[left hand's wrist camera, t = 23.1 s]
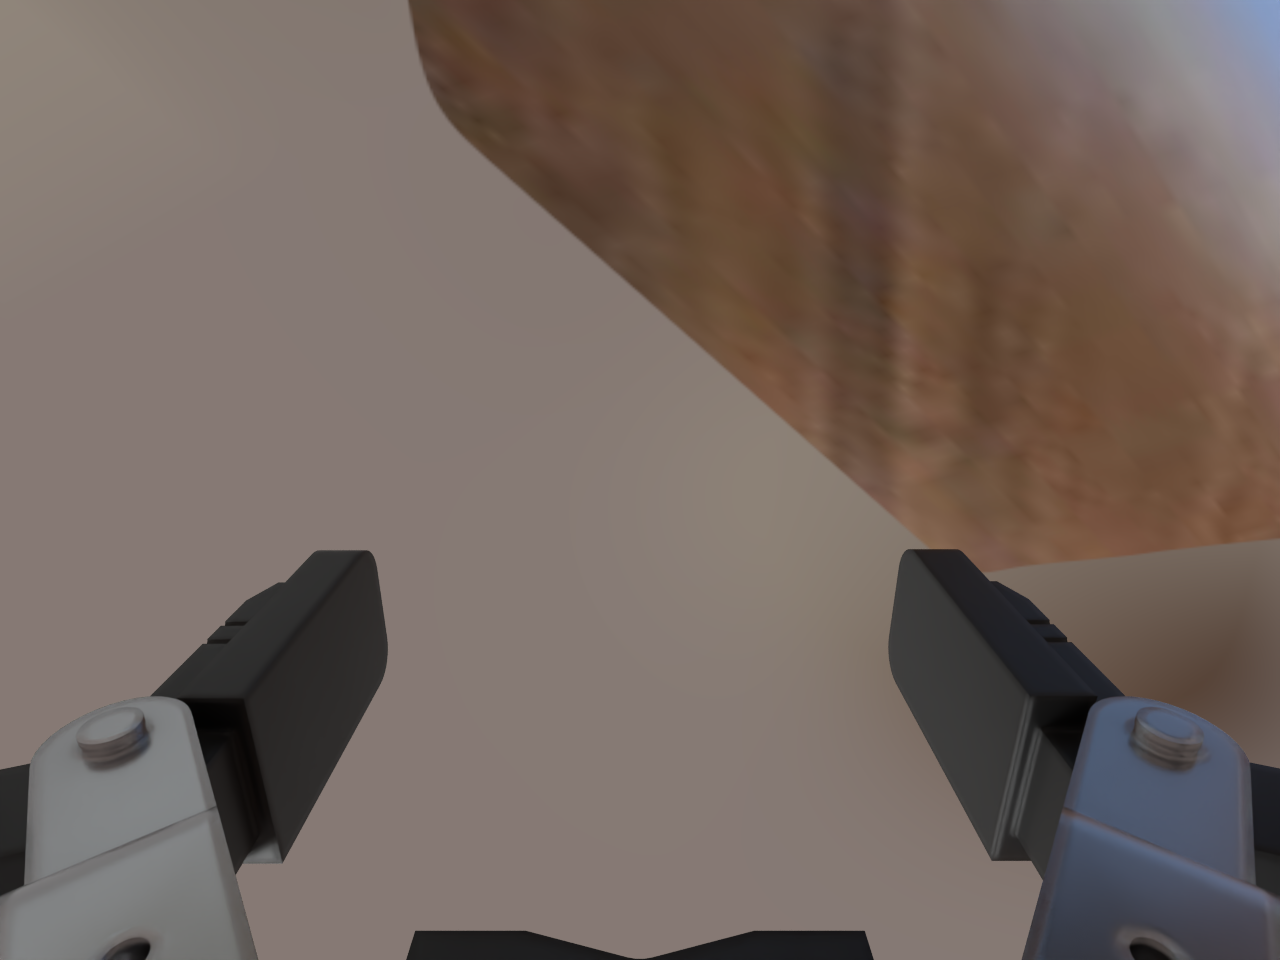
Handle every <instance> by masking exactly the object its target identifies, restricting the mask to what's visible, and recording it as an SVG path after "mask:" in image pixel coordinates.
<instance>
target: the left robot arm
mask: <svg viewBox="0 0 1280 960" xmlns="http://www.w3.org/2000/svg"><path fill="white" fill-rule="evenodd" d="M888 648H889V661H890V667H891V671H892V675H893V678H894V680H895V682H896V684H897V686H898V688H899V690H900V692H901V693H902V695H903V697H904V699H905V701H906V703H907V704H908V706H909V708H910V710H911V712H912V714H913V716H914V717H915V719H916V721H917V723H918V725H919V727H920V729H921V730H922V732H923V734H924V736H925V738H926V740H927V741H928V743H929V745H930V747H931V749H932V751H933V753H934V754H935V756H936V758H937V760H938V762H939V764H940V766H941V767H942V769H943V771H944V773H945V775H946V777H947V779H948V780H949V782H950V784H951V786H952V788H953V790H954V791H955V793H956V795H957V797H958V799H959V801H960V803H961V804H962V806H963V808H964V810H965V812H966V814H967V816H968V817H969V819H970V821H971V823H972V825H973V827H974V829H975V830H976V832H977V834H978V836H979V838H980V840H981V841H982V843H983V845H984V847H985V849H986V851H987V853H988V854H989V856H990V858H991V860H992V861H1032V863H1033V864H1034V866H1035V868H1036V869H1037V871H1038V873H1039V874H1040V876H1041V878H1042V879H1043V883H1042V887H1041V890H1040V894H1039V898H1038V901H1037V905H1036V909H1035V912H1034V916H1033V920H1032V924H1031V928H1030V931H1029V935H1028V938H1027V942H1026V946H1025V950H1024V953H1023V957H1022V960H1280V769H1279V768H1274V767H1269V766H1264V765H1259V764H1254V763H1249V760H1248V758H1247V756H1246V754H1245V753H1244V751H1243V750H1242V749H1241V748H1240V746H1239V745H1238V744H1237V743H1236V742H1235V741H1234V740H1233V739H1232V738H1231V737H1230V736H1228V735H1227V734H1226V733H1224V732H1223V731H1222V730H1220V729H1219V728H1218V727H1216V726H1214V725H1213V724H1211V723H1210V722H1208V721H1206V720H1204V719H1202V718H1200V717H1199V716H1197V715H1195V714H1192V713H1190V712H1188V711H1186V710H1183V709H1181V708H1178V707H1175V706H1172V705H1170V704H1166V703H1163V702H1159V701H1155V700H1151V699H1146V698H1139V697H1127V696H1125V695H1124V694H1123V693H1122V692H1121V691H1120V690H1119V689H1118V688H1117V687H1116V686H1115V685H1114V684H1113V683H1112V682H1111V681H1110V680H1109V679H1108V678H1107V677H1106V676H1105V675H1104V674H1103V673H1102V672H1101V671H1100V670H1099V669H1098V668H1097V667H1096V666H1095V665H1094V664H1093V663H1092V662H1091V661H1090V660H1089V659H1088V658H1087V657H1086V656H1085V655H1084V654H1083V653H1082V652H1081V651H1080V650H1079V649H1078V648H1077V647H1076V646H1075V645H1074V644H1073V643H1072V642H1067V637H1066V636H1065V635H1064V634H1063V633H1062V632H1061V631H1060V630H1059V629H1058V628H1057V627H1056V626H1055V625H1054V624H1050V623H1049V619H1048V618H1047V617H1046V616H1045V615H1044V614H1043V613H1042V612H1041V611H1040V610H1039V609H1038V608H1037V607H1036V606H1035V605H1034V604H1033V603H1032V602H1031V601H1030V600H1029V599H1027V598H1026V597H1024V596H1022V595H1020V594H1019V593H1017V592H1015V591H1013V590H1011V589H1010V588H1008V587H1006V586H1004V585H1002V584H1001V583H999V582H997V581H989V580H988V579H987V578H986V577H985V576H984V574H983V573H982V572H981V571H980V570H979V569H978V568H977V567H976V566H975V565H974V564H973V563H972V562H971V561H970V560H969V559H968V557H967V556H966V555H965V554H964V553H963V552H962V551H960V550H958V549H908V550H906V551H905V552H904V554H903V555H902V558H901V561H900V565H899V571H898V578H897V585H896V592H895V599H894V606H893V613H892V620H891V627H890V634H889V646H888ZM387 655H388V642H387V634H386V628H385V620H384V614H383V606H382V600H381V593H380V586H379V579H378V572H377V566H376V562H375V559H374V556H373V555H372V553H371V552H370V551H367V550H366V551H365V550H361V551H360V550H351V551H350V550H348V551H347V550H342V551H341V550H335V551H333V550H328V551H326V550H321V551H316V552H314V553H313V554H312V555H311V556H310V557H309V558H308V559H307V560H306V561H305V562H304V563H303V564H302V565H301V566H300V568H299V569H298V570H297V571H296V572H295V573H294V574H293V575H292V576H291V577H290V578H289V579H288V580H287V581H286V582H285V583H277V584H275V585H273V586H272V587H270V588H268V589H266V590H264V591H263V592H261V593H259V594H257V595H255V596H254V597H252V598H250V599H248V600H247V601H245V602H244V604H242V605H241V606H240V607H239V608H238V610H236V611H235V612H234V613H233V614H232V615H231V616H230V617H229V618H228V619H227V620H226V622H225V626H220V627H219V628H218V629H217V630H216V631H215V632H214V633H213V634H212V635H211V636H210V637H209V638H208V642H207V644H202V645H201V646H200V647H199V648H198V649H197V650H196V651H195V652H194V653H193V654H192V655H191V656H190V657H189V658H188V659H187V660H186V661H185V662H184V663H183V664H182V665H181V666H180V667H179V668H178V669H177V670H176V671H175V672H174V673H173V674H172V675H171V676H170V677H169V678H168V679H167V680H166V681H165V682H164V683H163V684H162V685H161V686H160V687H159V688H158V689H157V690H156V691H155V692H154V693H153V694H152V695H151V696H150V697H141V698H134V699H129V700H125V701H121V702H117V703H114V704H110V705H108V706H105V707H102V708H99V709H97V710H94V711H92V712H90V713H88V714H85V715H83V716H82V717H80V718H78V719H76V720H74V721H72V722H70V723H69V724H67V725H66V726H64V727H62V728H61V729H60V730H58V731H57V732H56V733H54V734H53V735H52V736H50V737H49V738H48V739H47V740H46V741H45V742H44V743H43V744H42V745H41V746H40V748H39V749H38V750H37V751H36V753H35V754H34V756H33V758H32V760H31V763H30V764H26V765H21V766H16V767H11V768H7V769H2V770H0V960H258V957H257V953H256V950H255V946H254V942H253V938H252V935H251V931H250V927H249V924H248V920H247V916H246V912H245V909H244V905H243V901H242V898H241V894H240V890H239V887H238V883H237V879H236V873H237V872H238V870H239V868H240V867H241V865H242V863H283V861H284V859H285V858H286V856H287V854H288V852H289V850H290V848H291V847H292V845H293V843H294V841H295V839H296V837H297V836H298V834H299V832H300V830H301V828H302V826H303V825H304V823H305V821H306V819H307V817H308V815H309V814H310V812H311V810H312V808H313V806H314V804H315V803H316V801H317V799H318V797H319V795H320V794H321V792H322V790H323V788H324V786H325V784H326V783H327V781H328V779H329V777H330V775H331V773H332V772H333V770H334V768H335V766H336V764H337V762H338V761H339V759H340V757H341V755H342V753H343V751H344V750H345V748H346V746H347V744H348V742H349V741H350V739H351V737H352V735H353V733H354V731H355V729H356V728H357V726H358V724H359V722H360V720H361V719H362V717H363V715H364V713H365V711H366V709H367V708H368V706H369V704H370V702H371V700H372V698H373V697H374V695H375V693H376V691H377V689H378V687H379V686H380V684H381V681H382V679H383V676H384V673H385V669H386V664H387ZM406 960H874V959H873V956H872V953H871V950H870V946H869V943H868V940H867V937H866V934H865V931H752V932H748V933H744V934H740V935H737V936H733V937H729V938H725V939H721V940H718V941H714V942H710V943H706V944H702V945H698V946H695V947H691V948H687V949H683V950H679V951H676V952H672V953H668V954H664V955H660V956H656V957H653V958H647V959H633V958H627V957H624V956H620V955H616V954H612V953H608V952H604V951H601V950H597V949H593V948H589V947H585V946H582V945H578V944H574V943H570V942H566V941H562V940H558V939H555V938H551V937H547V936H543V935H540V934H536V933H532V932H528V931H415V934H414V937H413V940H412V943H411V946H410V950H409V953H408V956H407V959H406Z"/></svg>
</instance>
